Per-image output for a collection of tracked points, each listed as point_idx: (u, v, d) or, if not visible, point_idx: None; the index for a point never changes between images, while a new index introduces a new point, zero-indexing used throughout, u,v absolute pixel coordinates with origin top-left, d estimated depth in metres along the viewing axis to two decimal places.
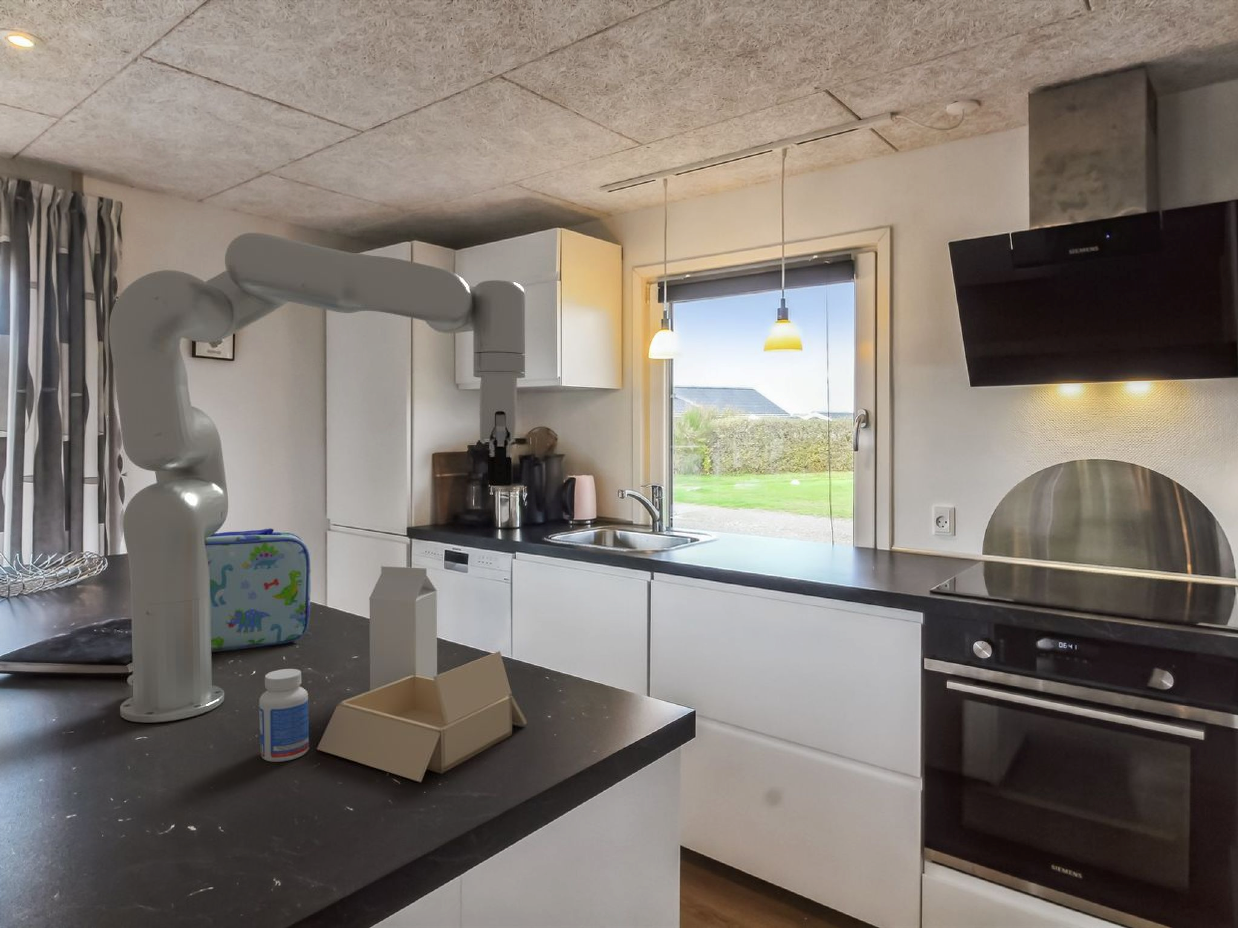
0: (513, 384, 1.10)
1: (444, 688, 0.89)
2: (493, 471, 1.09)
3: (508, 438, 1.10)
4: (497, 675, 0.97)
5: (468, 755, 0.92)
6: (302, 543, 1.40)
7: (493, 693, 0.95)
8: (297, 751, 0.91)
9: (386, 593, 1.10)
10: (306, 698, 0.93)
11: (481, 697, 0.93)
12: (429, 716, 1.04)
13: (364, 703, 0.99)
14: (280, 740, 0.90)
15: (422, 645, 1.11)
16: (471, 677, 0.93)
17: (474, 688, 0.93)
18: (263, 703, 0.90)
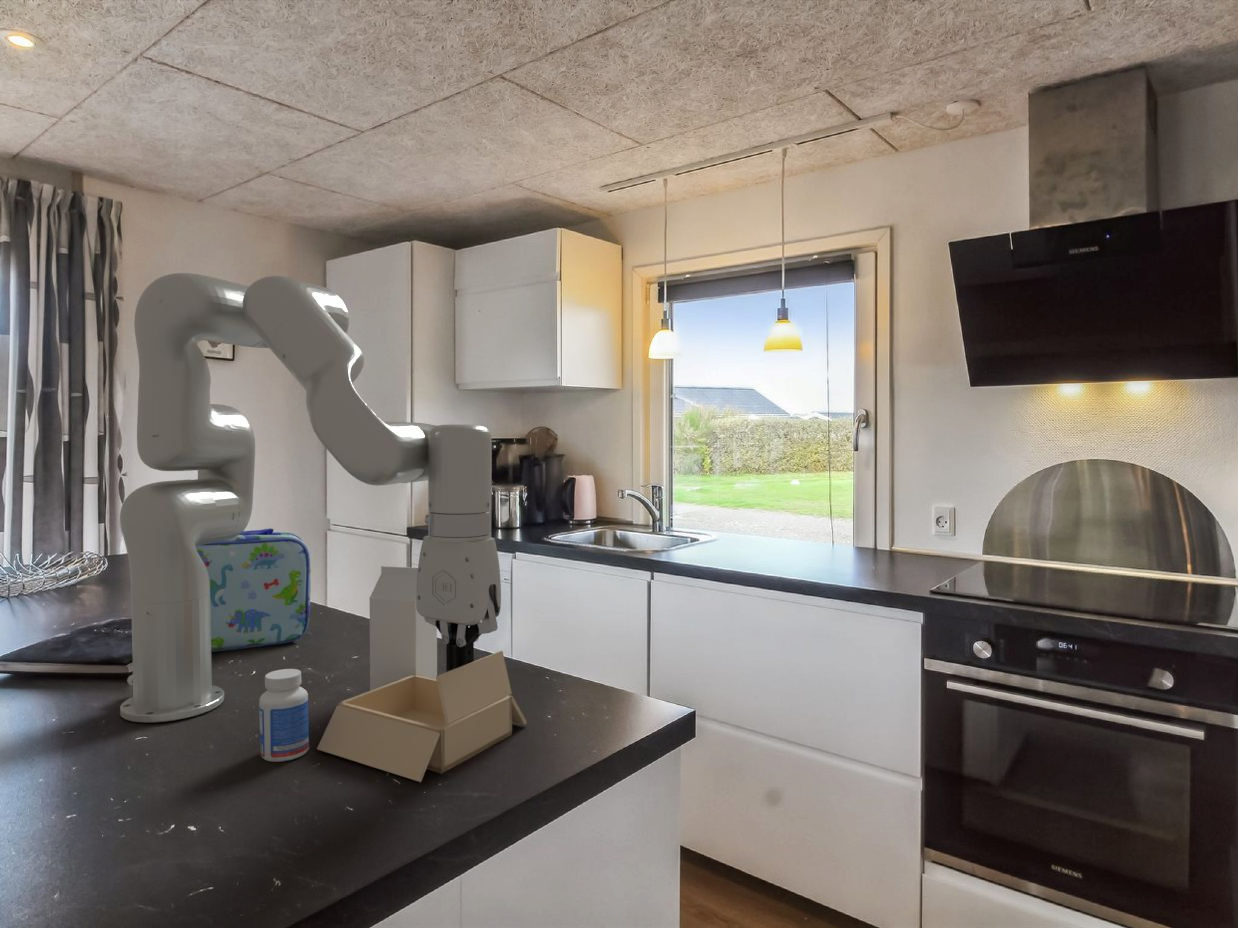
0: (496, 549, 0.93)
1: (446, 688, 0.89)
2: (459, 661, 0.93)
3: (495, 614, 0.93)
4: (498, 675, 0.97)
5: (468, 755, 0.92)
6: (302, 543, 1.40)
7: (494, 693, 0.95)
8: (297, 751, 0.91)
9: (386, 593, 1.10)
10: (306, 698, 0.93)
11: (482, 697, 0.93)
12: (429, 716, 1.04)
13: (364, 703, 0.99)
14: (280, 740, 0.90)
15: (422, 645, 1.11)
16: (473, 676, 0.93)
17: (475, 688, 0.93)
18: (263, 703, 0.90)
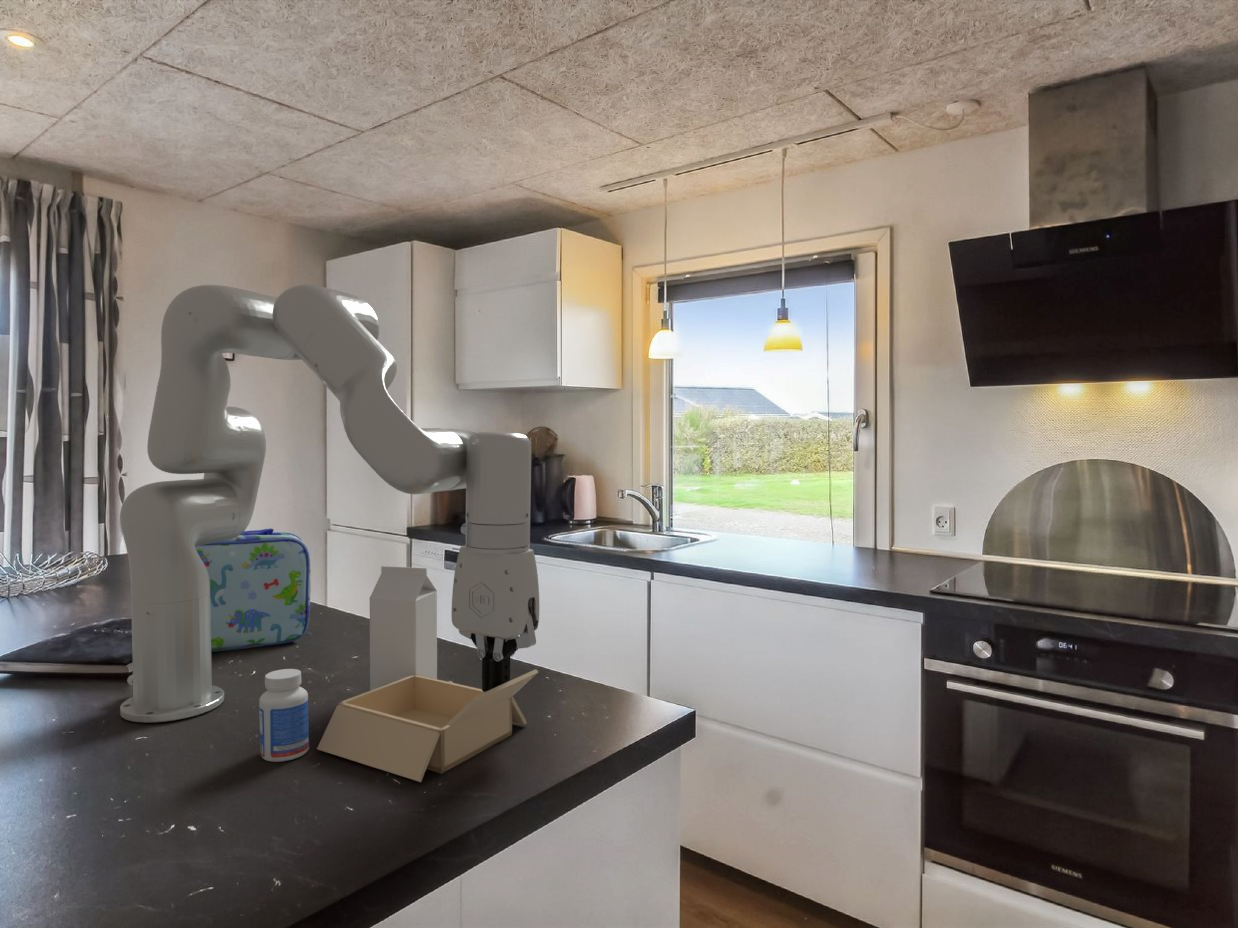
0: (535, 560, 0.91)
1: (473, 706, 0.87)
2: (496, 676, 0.91)
3: None
4: (517, 687, 0.95)
5: (468, 755, 0.92)
6: (302, 543, 1.40)
7: (500, 699, 0.95)
8: (297, 751, 0.91)
9: (386, 593, 1.10)
10: (306, 698, 0.93)
11: (490, 704, 0.93)
12: (429, 716, 1.04)
13: (364, 703, 0.99)
14: (280, 740, 0.90)
15: (422, 645, 1.11)
16: (499, 693, 0.91)
17: (492, 700, 0.92)
18: (263, 703, 0.90)
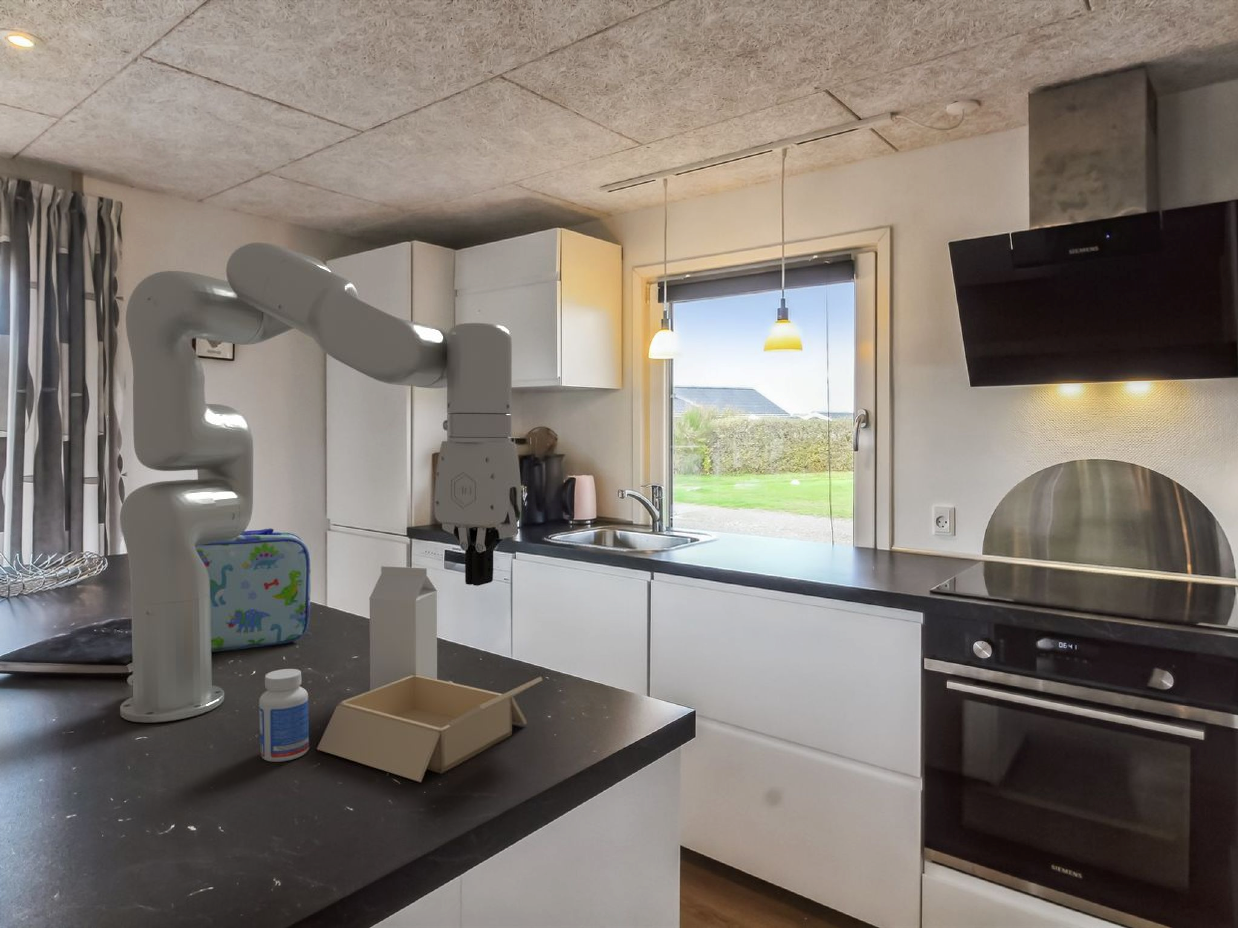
0: (516, 453, 0.91)
1: (475, 712, 0.87)
2: (479, 568, 0.91)
3: (515, 519, 0.91)
4: None
5: (468, 755, 0.92)
6: (302, 543, 1.40)
7: (501, 701, 0.95)
8: (297, 751, 0.91)
9: (386, 593, 1.10)
10: (306, 698, 0.93)
11: (490, 706, 0.93)
12: (429, 716, 1.04)
13: (364, 703, 0.99)
14: (280, 740, 0.90)
15: (422, 645, 1.11)
16: (502, 699, 0.91)
17: (494, 704, 0.91)
18: (263, 703, 0.90)
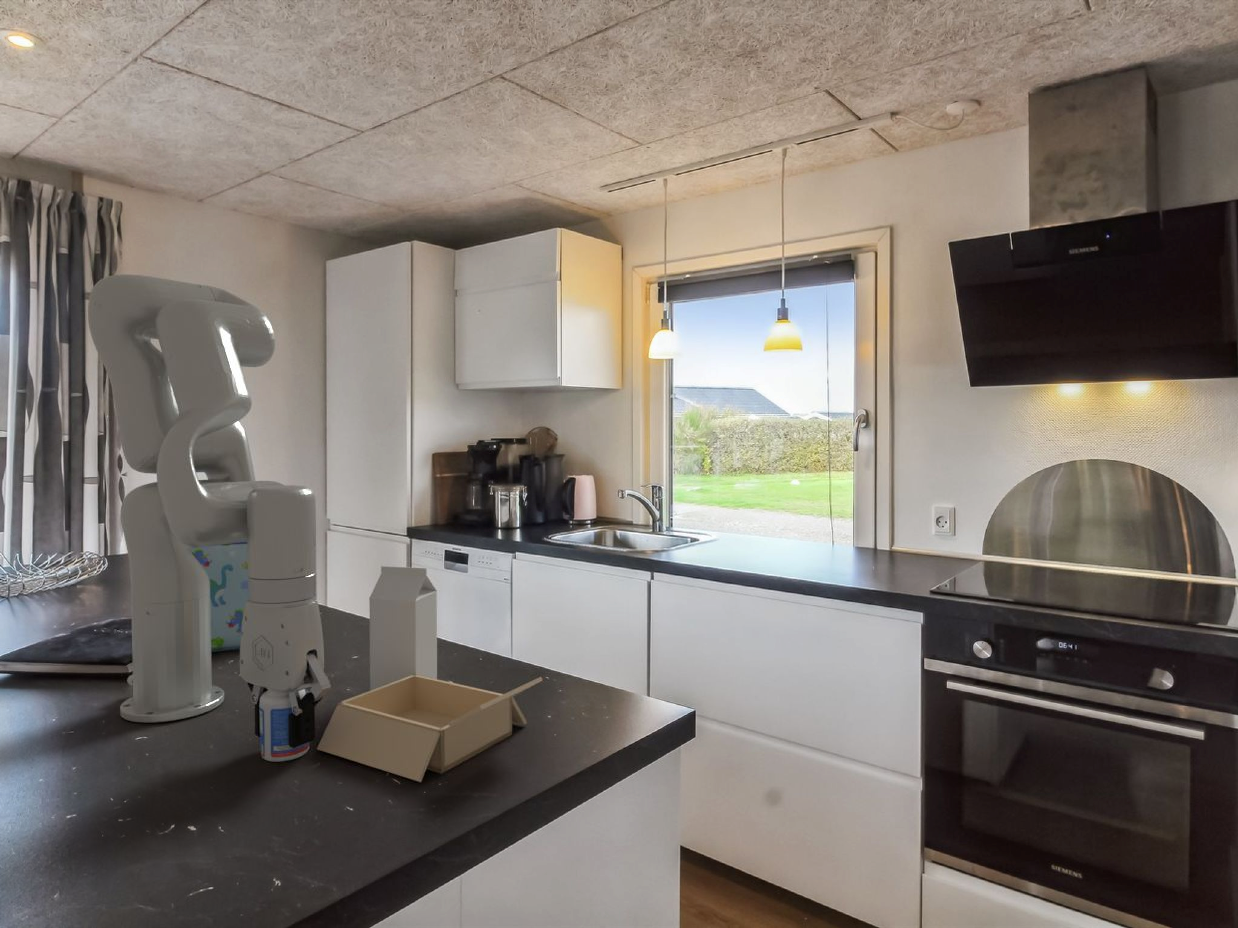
0: (319, 612, 0.92)
1: None
2: (296, 730, 0.90)
3: None
4: (519, 692, 0.95)
5: (468, 755, 0.92)
6: None
7: None
8: (297, 751, 0.91)
9: (386, 593, 1.10)
10: None
11: (491, 706, 0.93)
12: (429, 716, 1.04)
13: (364, 703, 0.99)
14: (280, 740, 0.90)
15: (422, 645, 1.11)
16: None
17: (494, 704, 0.91)
18: (263, 703, 0.90)
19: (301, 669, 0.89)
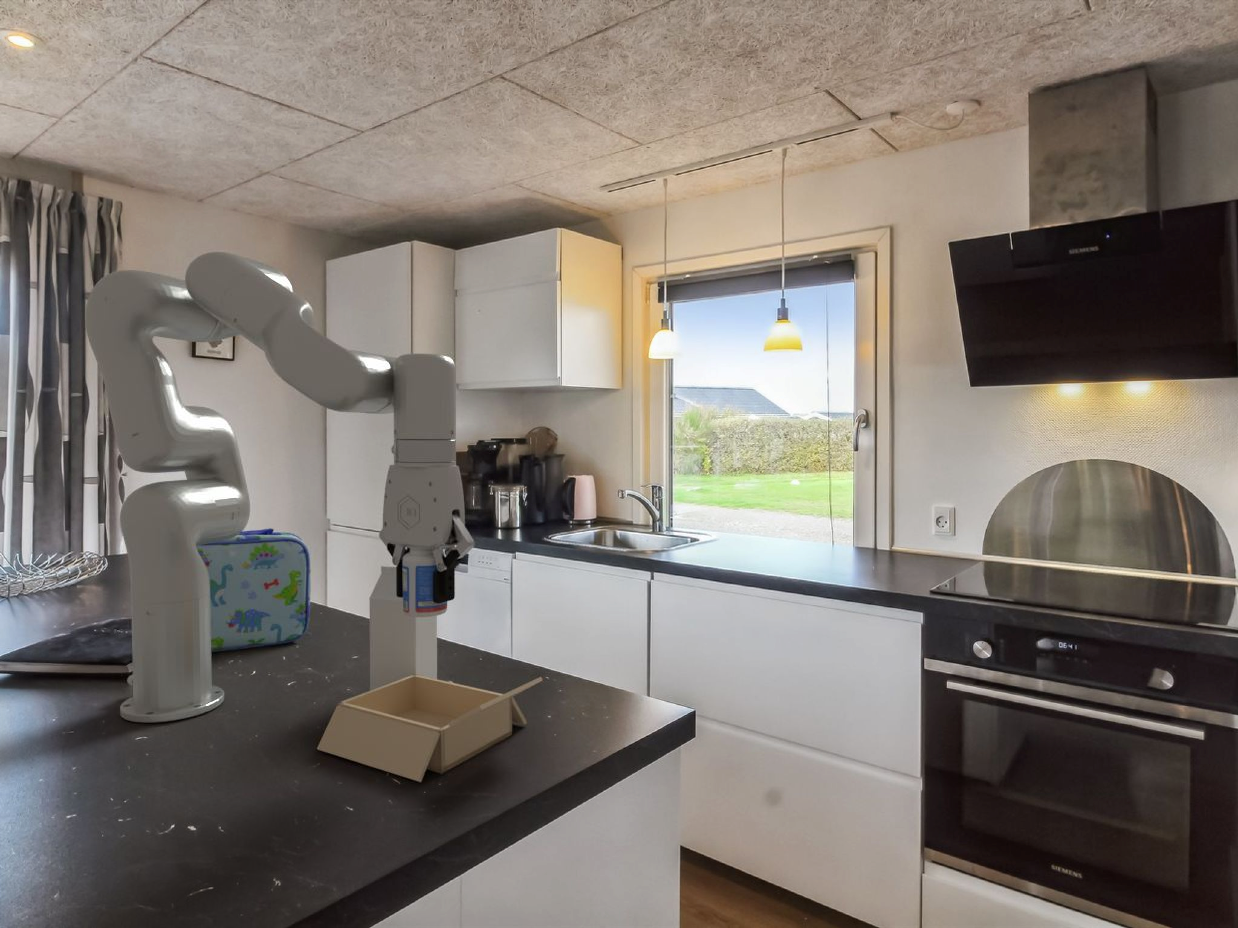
0: (460, 476, 0.96)
1: None
2: (440, 586, 0.94)
3: None
4: (519, 692, 0.95)
5: (468, 755, 0.92)
6: (302, 543, 1.40)
7: None
8: (439, 608, 0.95)
9: (386, 593, 1.10)
10: None
11: (491, 706, 0.93)
12: (429, 716, 1.04)
13: (364, 703, 0.99)
14: (424, 596, 0.94)
15: (422, 645, 1.11)
16: None
17: (494, 704, 0.91)
18: (408, 561, 0.94)
19: (447, 526, 0.93)
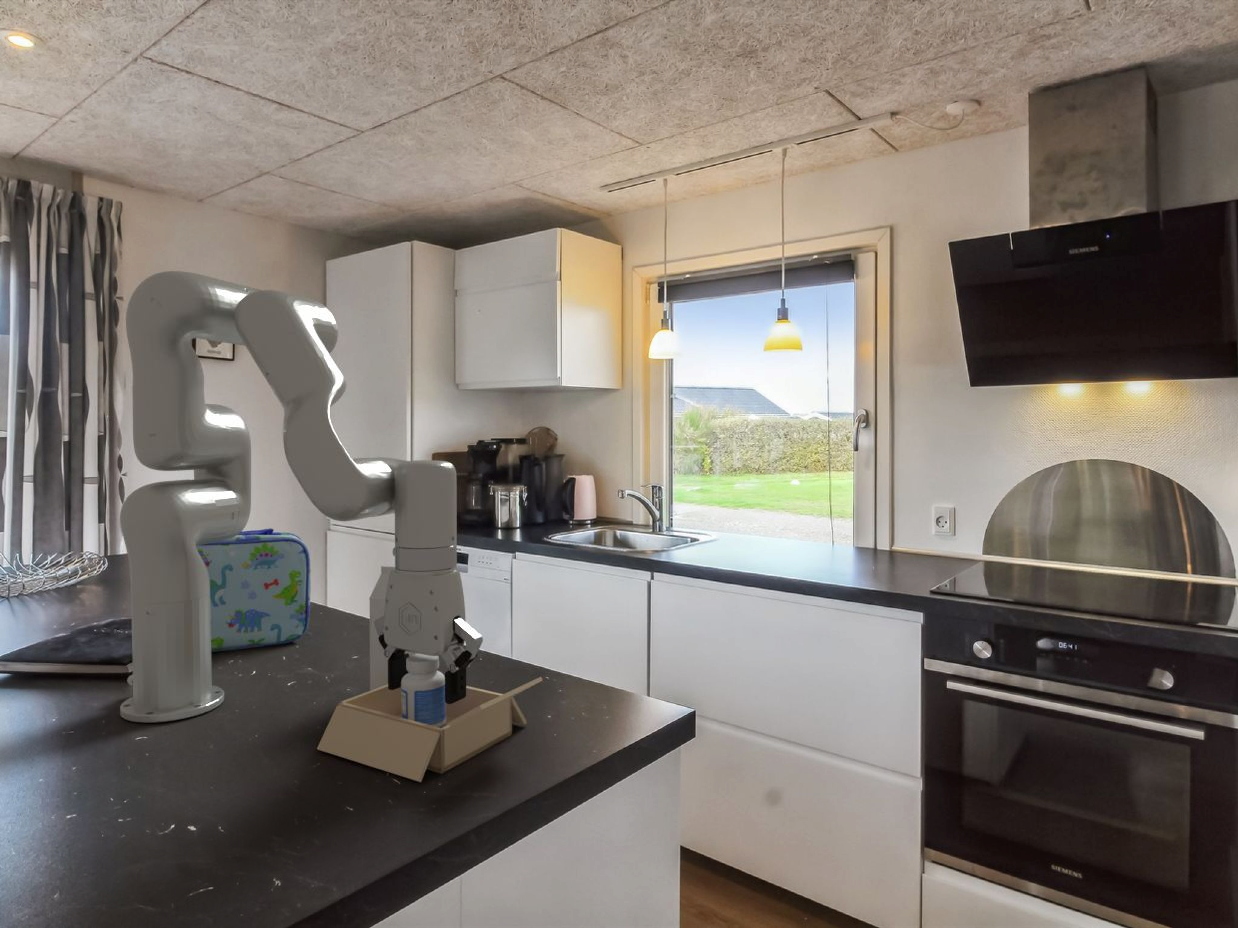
0: (461, 581, 0.96)
1: None
2: (452, 687, 0.94)
3: (459, 644, 0.96)
4: (519, 692, 0.95)
5: (468, 755, 0.92)
6: (302, 543, 1.40)
7: None
8: None
9: None
10: (444, 681, 0.98)
11: (491, 706, 0.93)
12: None
13: (364, 703, 0.99)
14: (423, 720, 0.95)
15: None
16: None
17: (494, 704, 0.91)
18: (407, 685, 0.95)
19: (448, 634, 0.93)
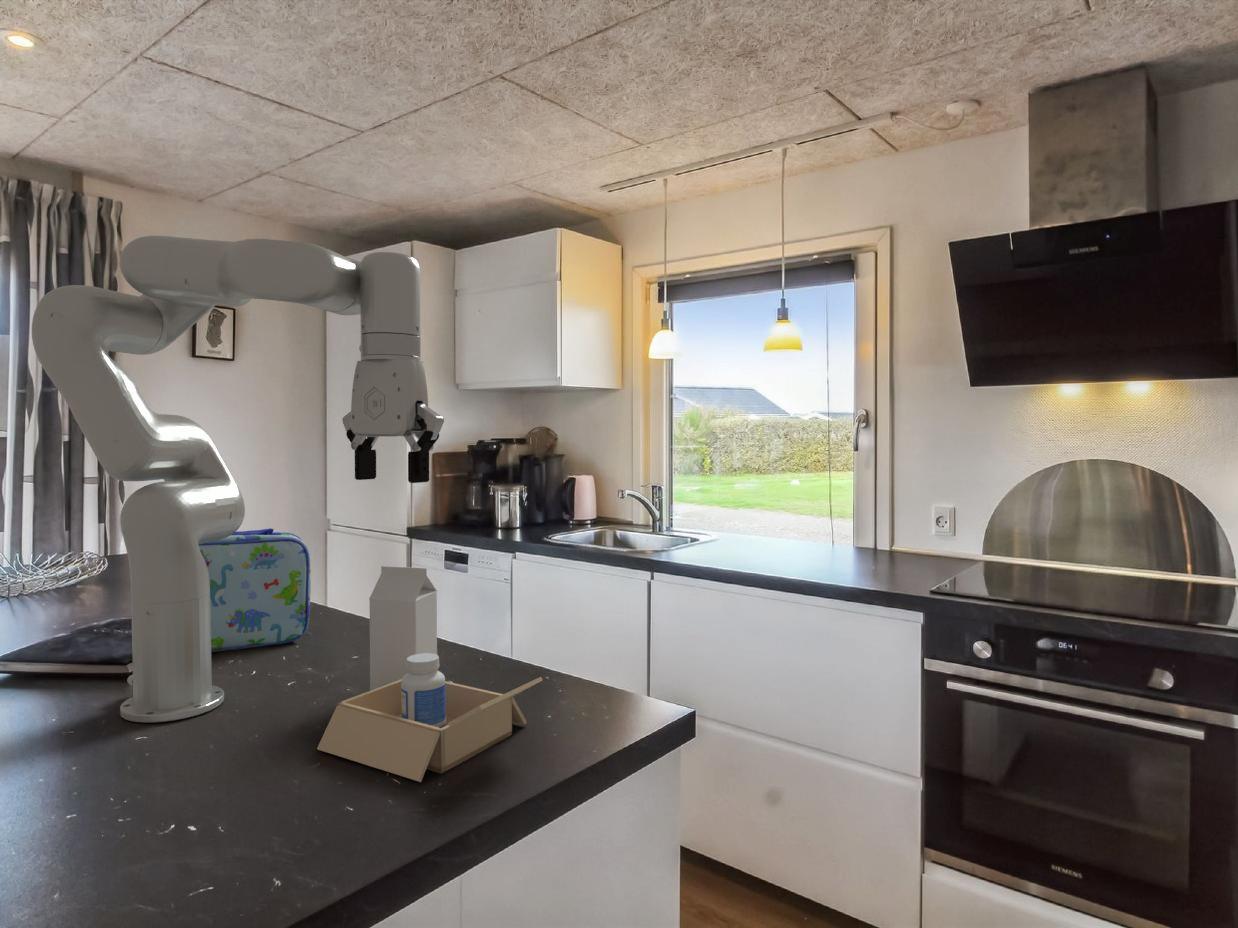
0: (424, 371, 1.01)
1: None
2: (415, 467, 0.98)
3: (423, 431, 1.00)
4: (519, 692, 0.95)
5: (468, 755, 0.92)
6: (302, 543, 1.40)
7: None
8: None
9: (386, 593, 1.10)
10: (444, 681, 0.98)
11: (491, 706, 0.93)
12: None
13: (364, 703, 0.99)
14: (423, 720, 0.95)
15: (422, 645, 1.11)
16: None
17: (494, 704, 0.91)
18: (407, 685, 0.95)
19: (411, 415, 0.98)
